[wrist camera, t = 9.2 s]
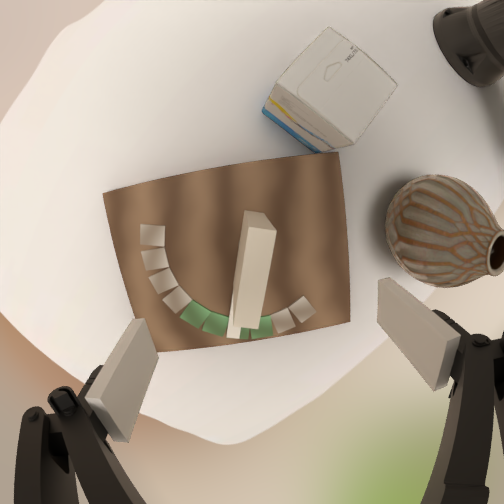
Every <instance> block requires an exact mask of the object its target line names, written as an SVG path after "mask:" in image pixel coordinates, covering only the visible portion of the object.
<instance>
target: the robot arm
mask: <svg viewBox="0 0 504 504" xmlns="http://www.w3.org/2000/svg"><path fill="white" fill-rule="evenodd" d="M434 32H435V36H436V39H437V41H438V44H439V46H440V48H441V50H442V52H443V54H444V55H445V57H446V58H447V60H448V61H449V63H450V64H451V66H452V67H453V68H454V69H455V70H456V72H457V73H458V74H459V75H460V76H461V77H462V78H464V79H465V80H466V81H467V82H469V83H471V84H472V85H475V86H478V87H484V86H488V85H492V84H494V83H495V82H496V81H498V80H499V79H500V78H501V77H502V76H504V0H483V1H481V2H479V3H478V4H476V5H474V6H469V7H454V8H447V9H444V10H443V11H441V12H439V13H438V14H437V15H436V16H435V18H434ZM377 323H378V324H379V325H380V326H381V327H382V329H383V330H384V331H385V332H386V333H387V334H388V336H389V337H390V338H391V339H392V340H393V342H394V343H395V344H396V345H397V346H398V348H399V349H400V350H401V351H402V353H403V354H404V355H405V356H406V357H407V359H408V360H409V361H410V362H411V364H412V365H413V366H414V367H415V369H416V370H417V371H418V372H419V374H420V375H421V376H422V378H423V379H424V380H425V381H426V383H427V384H428V385H429V386H430V388H431V389H432V390H433V391H436V390H438V389H441V388H443V387H445V386H447V383H448V380H449V377H450V376H451V377H452V378H453V379H454V383H453V386H452V389H451V392H450V395H449V398H451V399H450V404H449V409H448V414H447V419H446V424H445V428H444V432H443V437H442V441H441V444H440V449H439V452H438V455H437V459H436V462H435V465H434V468H433V471H432V474H431V477H430V480H429V483H428V486H427V489H426V491H425V494H424V496H423V499H422V501H421V504H487V502H488V498H489V488H488V487H486V486H485V479H486V474H487V469H488V462H489V457H490V449H491V441H492V431H493V418H494V417H493V416H494V406H495V410H496V415H497V419H498V424H499V429H500V435H501V441H502V447H503V454H504V332H503V335H502V338H501V339H496V340H490V339H489V338H488V337H487V336H485V335H482V334H473V335H470V334H469V333H468V332H467V331H465V329H463V328H462V327H461V326H460V325H458V324H457V323H455V321H454V320H452V319H450V317H449V316H447V315H446V314H445V313H443V312H441V311H438V310H430V309H429V308H428V307H426V306H425V305H424V304H423V303H422V302H421V301H419V300H418V299H417V298H416V297H414V296H413V295H412V294H411V293H409V292H408V291H407V290H405V289H404V288H403V287H402V286H400V285H399V284H398V283H397V282H395V281H394V280H393V279H391V278H390V277H389V278H385V279H380V280H378V312H377ZM158 359H159V357H158V354H157V351H156V349H155V346H154V343H153V341H152V338H151V335H150V332H149V329H148V327H147V324H146V321H145V318H140V319H132V321H131V322H130V324H129V326H128V327H127V329H126V330H125V332H124V333H123V335H122V337H121V338H120V340H119V341H118V343H117V344H116V346H115V348H114V349H113V351H112V352H111V354H110V356H109V357H108V359H107V361H106V362H105V364H104V365H100V366H98V367H97V368H96V369H95V370H94V371H93V372H92V373H91V375H90V377H89V379H88V380H87V382H86V385H84V386H83V388H82V390H81V391H80V393H79V395H78V396H77V397H76V395H75V393H74V391H73V390H72V389H71V388H70V387H68V386H62V387H59V388H57V389H55V390H53V391H52V392H51V393H50V394H49V396H48V403H49V404H50V406H51V407H52V409H53V410H54V412H55V414H46V413H45V411H44V410H43V409H42V408H41V407H32V408H30V409H28V410H27V411H26V412H25V413H24V415H23V417H22V422H21V428H20V434H19V441H18V448H17V456H16V468H15V482H14V504H79V500H78V494H77V486H76V478H75V472H76V474H77V477H78V479H79V482H80V484H81V487H82V489H83V491H84V493H85V496H86V498H87V500H88V502H89V504H146V503H145V501H144V500H143V498H142V497H141V496H140V494H139V493H138V491H137V490H136V488H135V487H134V485H133V484H132V482H131V481H130V479H129V477H128V476H127V474H126V473H125V471H124V469H123V468H122V466H121V464H120V463H119V461H118V459H117V458H116V456H115V454H114V452H113V450H112V449H111V447H110V445H109V443H108V442H107V441H106V437H107V434H109V435H110V436H111V438H112V439H113V441H118V442H127V443H129V440H130V437H131V434H132V431H133V428H134V425H135V422H136V419H137V416H138V414H139V411H140V408H141V405H142V402H143V399H144V397H145V394H146V391H147V388H148V386H149V383H150V380H151V377H152V375H153V372H154V369H155V367H156V364H157V361H158Z"/></svg>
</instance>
